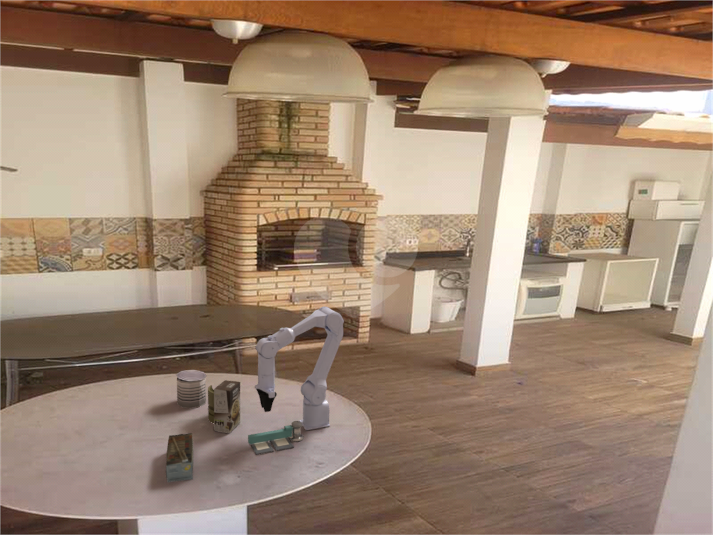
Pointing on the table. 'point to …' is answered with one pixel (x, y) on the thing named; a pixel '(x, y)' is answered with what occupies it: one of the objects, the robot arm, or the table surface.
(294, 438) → the pivot post
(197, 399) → the can
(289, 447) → the label tile
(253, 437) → the bar
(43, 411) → the table surface
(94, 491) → the table surface
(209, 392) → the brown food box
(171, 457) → the beverage carton
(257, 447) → the label tile
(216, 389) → the coffee box
